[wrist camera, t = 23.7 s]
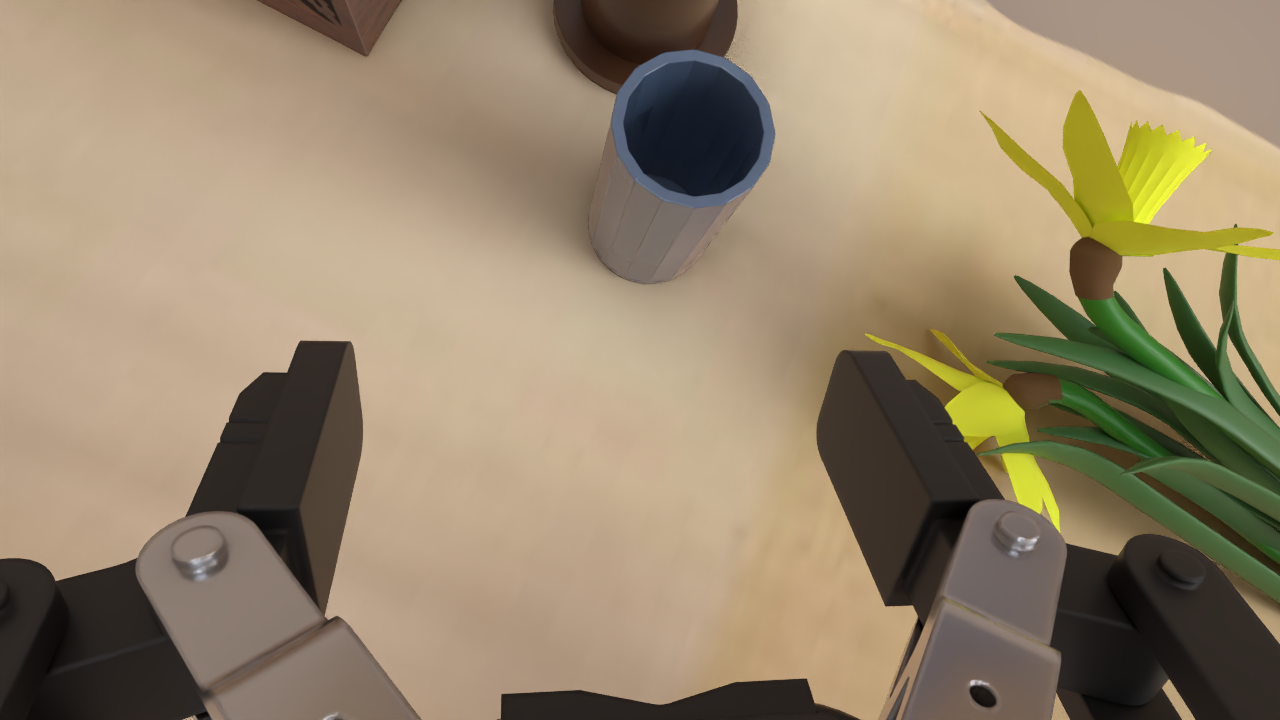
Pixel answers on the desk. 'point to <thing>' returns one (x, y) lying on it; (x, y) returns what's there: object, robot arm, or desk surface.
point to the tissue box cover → (341, 18)
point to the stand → (639, 32)
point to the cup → (676, 162)
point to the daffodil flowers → (1134, 359)
